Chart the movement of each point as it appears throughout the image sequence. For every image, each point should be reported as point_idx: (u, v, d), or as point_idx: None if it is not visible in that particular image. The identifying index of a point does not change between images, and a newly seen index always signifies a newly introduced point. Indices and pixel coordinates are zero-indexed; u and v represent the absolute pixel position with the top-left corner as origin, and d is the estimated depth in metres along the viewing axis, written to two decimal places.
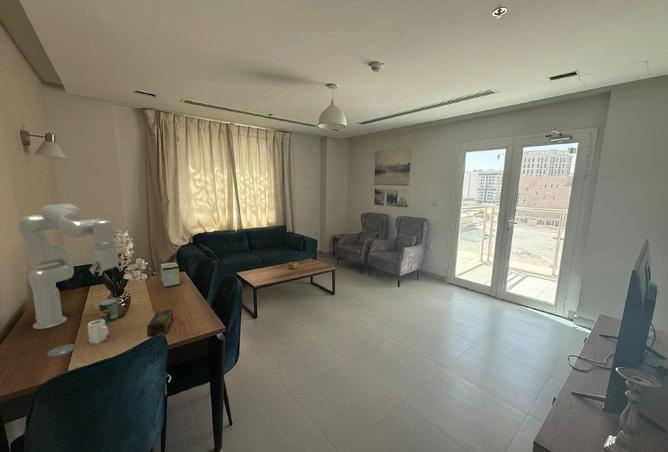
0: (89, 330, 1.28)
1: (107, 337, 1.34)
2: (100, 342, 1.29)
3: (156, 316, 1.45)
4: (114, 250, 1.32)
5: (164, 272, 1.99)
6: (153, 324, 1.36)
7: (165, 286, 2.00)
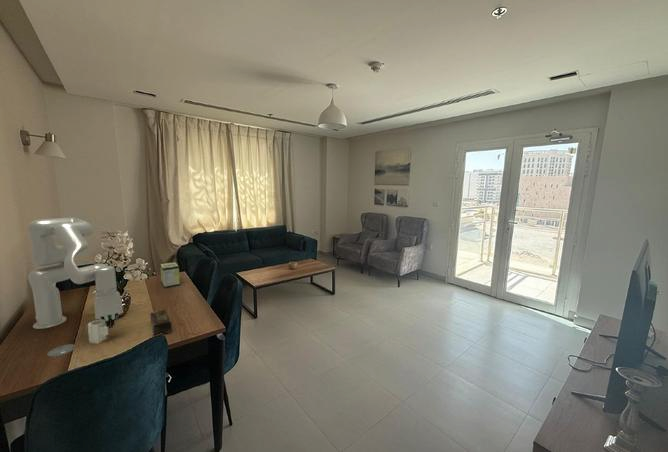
0: (89, 330, 1.28)
1: (107, 337, 1.34)
2: (100, 342, 1.29)
3: (154, 317, 1.44)
4: None
5: (164, 272, 1.99)
6: (159, 323, 1.37)
7: (165, 286, 2.00)
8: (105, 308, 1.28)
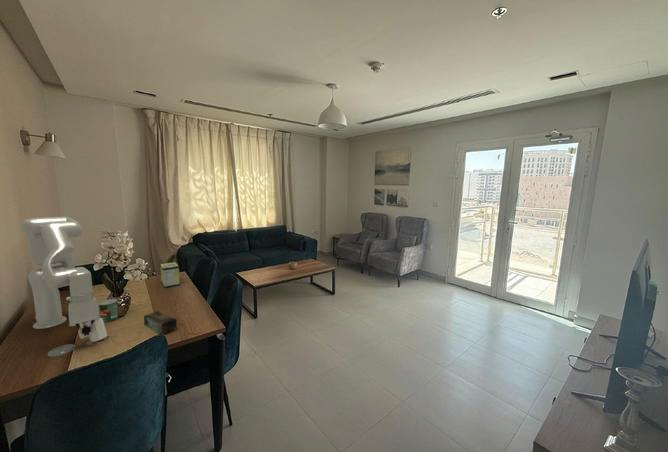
0: None
1: (107, 337, 1.34)
2: (100, 342, 1.29)
3: (153, 318, 1.43)
4: None
5: (164, 272, 1.99)
6: (165, 321, 1.39)
7: (165, 286, 2.00)
8: (80, 315, 1.22)
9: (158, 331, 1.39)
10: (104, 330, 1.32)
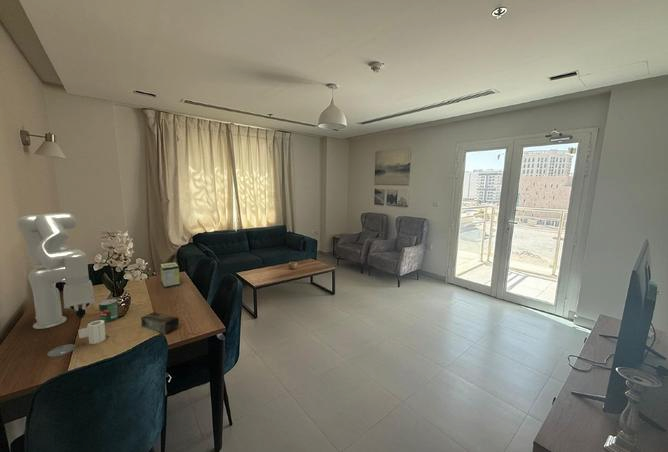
0: None
1: (107, 337, 1.34)
2: (100, 342, 1.29)
3: (153, 318, 1.43)
4: None
5: (164, 272, 1.99)
6: (168, 320, 1.41)
7: (165, 286, 2.00)
8: (75, 297, 1.21)
9: (161, 330, 1.39)
10: (102, 334, 1.30)
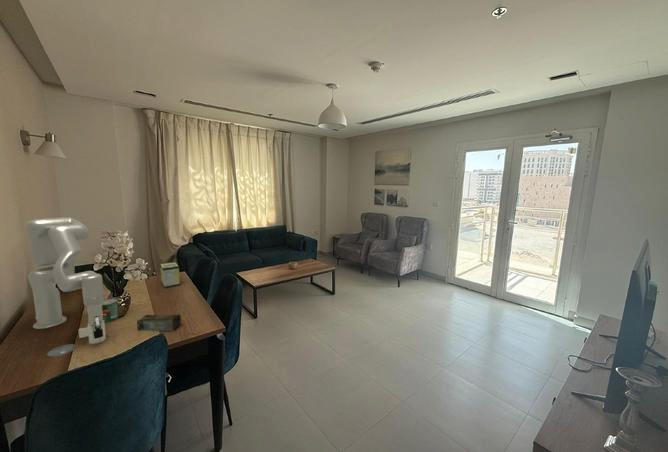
0: None
1: (107, 337, 1.34)
2: (100, 342, 1.29)
3: (153, 319, 1.42)
4: None
5: (164, 272, 1.99)
6: (173, 318, 1.44)
7: (165, 286, 2.00)
8: None
9: (167, 329, 1.41)
10: None
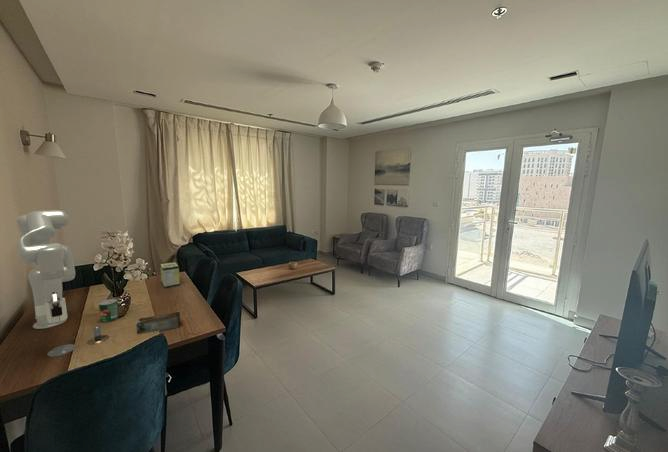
0: None
1: (107, 337, 1.34)
2: (100, 342, 1.29)
3: (155, 319, 1.41)
4: None
5: (164, 272, 1.99)
6: (176, 315, 1.47)
7: (165, 286, 2.00)
8: None
9: (171, 326, 1.44)
10: (62, 313, 1.19)
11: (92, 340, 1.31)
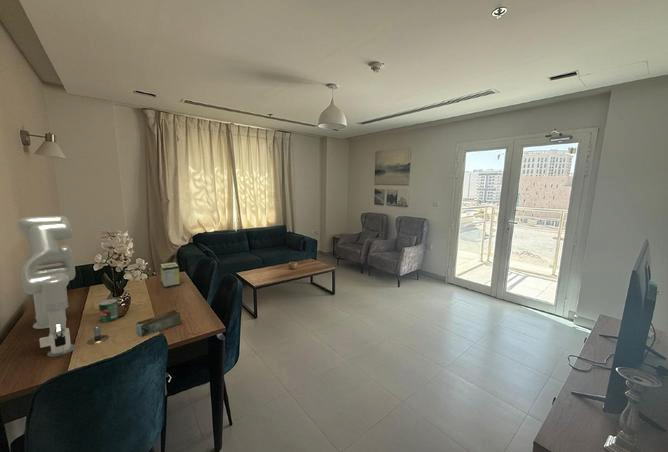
0: None
1: (107, 337, 1.34)
2: (100, 342, 1.29)
3: (157, 320, 1.41)
4: None
5: (164, 272, 1.99)
6: (176, 312, 1.50)
7: (165, 286, 2.00)
8: None
9: (174, 323, 1.47)
10: (66, 343, 1.21)
11: (92, 340, 1.31)
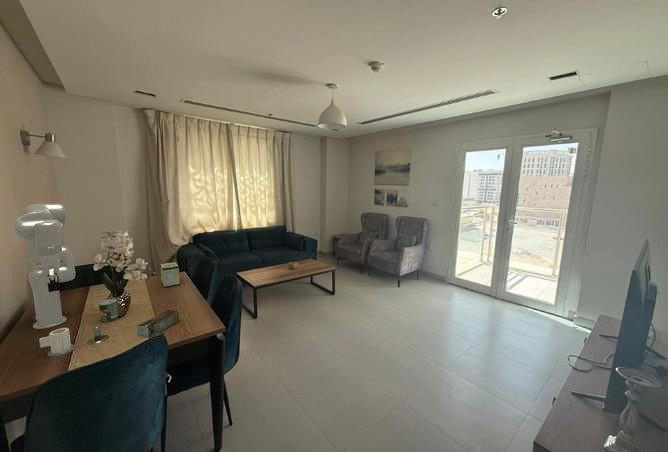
0: None
1: (107, 337, 1.34)
2: (100, 342, 1.29)
3: (159, 319, 1.42)
4: None
5: (164, 272, 1.99)
6: (173, 311, 1.51)
7: (165, 286, 2.00)
8: None
9: (174, 321, 1.49)
10: (66, 343, 1.21)
11: (92, 340, 1.31)
